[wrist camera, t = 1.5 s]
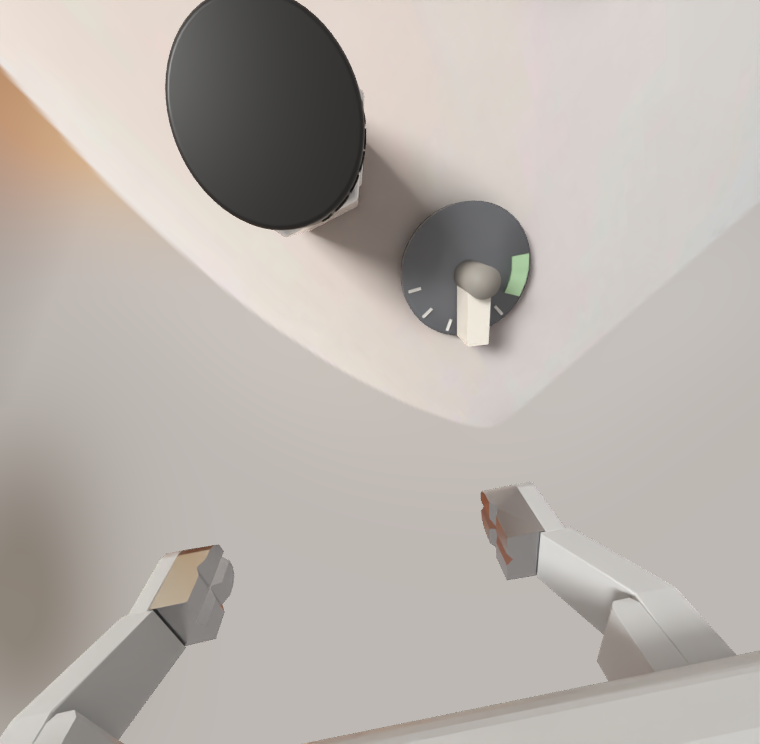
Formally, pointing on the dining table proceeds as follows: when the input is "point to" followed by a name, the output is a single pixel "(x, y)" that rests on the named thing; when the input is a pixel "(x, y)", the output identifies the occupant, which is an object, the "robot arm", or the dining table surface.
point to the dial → (459, 243)
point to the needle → (475, 300)
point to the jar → (267, 113)
